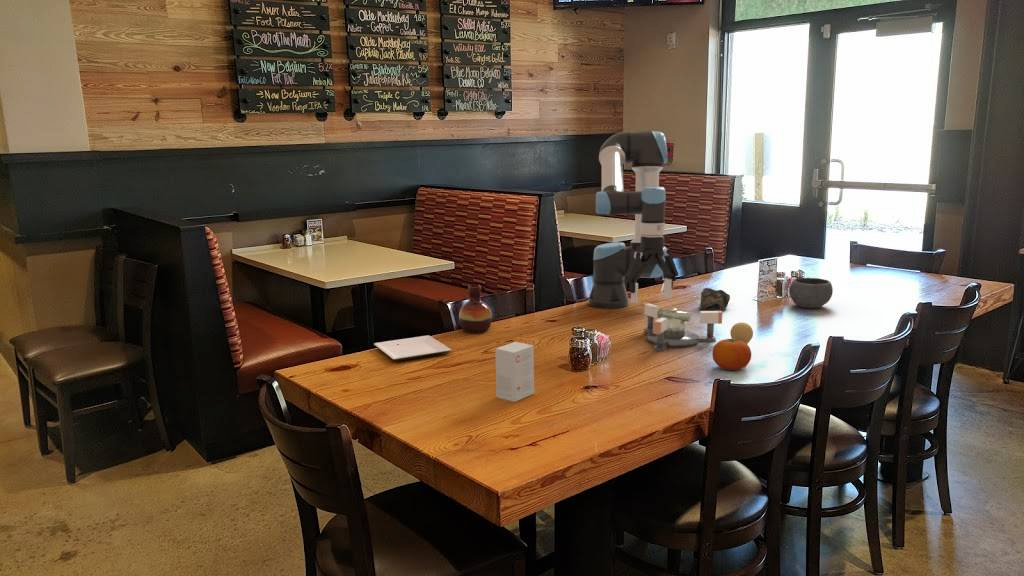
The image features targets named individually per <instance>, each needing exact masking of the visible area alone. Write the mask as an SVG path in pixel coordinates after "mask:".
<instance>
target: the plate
mask: <svg viewBox="0 0 1024 576" xmlns="http://www.w3.org/2000/svg"><path fill="white" fill-rule="evenodd" d="M397 344H399V345H397ZM373 345H374V346H375V347H376V348H377V349H379V350H380V351H382V352H383V353H384V354H385V355H386V356H388V357H389V358H390V359H392V360H393V361H398V362H400V361H407V360H412V359H419V358H426V357H431V356H437V355H443V354H446V353H449V352H452V351H453V349H451V348H450V347H449V346H447V345H445V344H443V343H442V342H441V341H439V340H437V339H435V338H434V337H432V336H431V335H429V334H428V335H421V336H414V337H409V338H408V337H407V338H401V339H393V340H387V341H381V342H375V343H373Z"/></svg>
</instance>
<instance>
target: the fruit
mask: <svg viewBox="0 0 1024 576" xmlns="http://www.w3.org/2000/svg"><path fill="white" fill-rule="evenodd" d="M711 355H712V360H713V361H714V363H715V364H716V366H718V367H719V368H720V369H724V370H727V371H738V370H742V369H745V367H747V366H748V364H749V363H750V362H751V360H752V349H751V347H750V346H749V345H748V344H746V343H745V342H743V341H740V340H737V339H732V338H726V339H721V340H719V341H718V342H716V343H715V344H714V346H713V347H712V354H711Z"/></svg>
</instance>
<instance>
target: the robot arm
mask: <svg viewBox="0 0 1024 576" xmlns="http://www.w3.org/2000/svg"><path fill="white" fill-rule="evenodd" d="M598 152H599V153H598V161H599V163H600V166H601V191H596V193H595V213H597V214H598V215H607V216H610V215H634V217H635V218H634V219H635V220H634V238H633V239H632V240H631V241H630V245H629V246H626V244H625V243H624V242H622V241H621V242H620V241H619V242H618V241H617V242H607V243H603V244H602V243H601V244H599V245H597V246H596V247H594V250H593V258H592V260H593V284H592V286H591V287H592V288H591V291H590V293H589V296H588V305H589V306H591V307H593V308H597V309H599V308H600V309H621V308H625V307H626V308H627V307H628V306H629V305H630V303H632V304H638V303H639V283H638V282H637V281H638V280H639V279H640V278H641V279H642V278H643V279H644V278H646V279H647V278H648V279H652V278H660V277H661V276H662V275H663V274H664V275H665V278H664V281H663V282H664V286H663V287H664V289H663V290H664V291H663V297H664V299H668V300H671V299H672V289H673V287H674V280H676V277H678V276H679V272H678V270H677V266H676V264H675V261H674V259H673V256H672V249H670V248H667V247H666V246H665V236H664V235H665V232H666V231H665V228H666V227H665V225H666V223H665V221H666V220H665V216H666V199H667V196H666V189H665V187H663V186H662V187H661V186H660V184H659V183H660V172H661V171H662V170H663V169H664V165H665V164H667V163H668V159H669V158H668V147H667V140H666V136H665V134H664V133H663V132H661V131H653V130H650V131H649V130H648V131H646V130H645V131H620V132H617V133H615V134H613V135H611V136H610V137H609V138H608V139H606V140H605V141H604V142H603V143H602V145H601V146H600V149H599V151H598ZM624 164H628V165H629V164H631V169H632V171H633V172H634V173H635V191H633V190H632V191H628V190H627V191H626V190H625V191H624V189H625V187H624ZM625 282H627V283H629V285H628V286H629V287H628V288H629V291H628V292H629V293H630V299H629V295H628V292H627V289H626V286H625ZM629 301H630V303H629Z"/></svg>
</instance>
